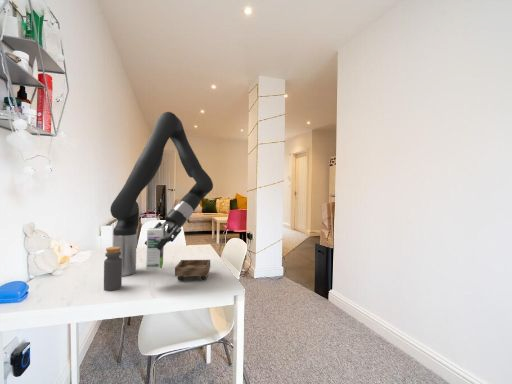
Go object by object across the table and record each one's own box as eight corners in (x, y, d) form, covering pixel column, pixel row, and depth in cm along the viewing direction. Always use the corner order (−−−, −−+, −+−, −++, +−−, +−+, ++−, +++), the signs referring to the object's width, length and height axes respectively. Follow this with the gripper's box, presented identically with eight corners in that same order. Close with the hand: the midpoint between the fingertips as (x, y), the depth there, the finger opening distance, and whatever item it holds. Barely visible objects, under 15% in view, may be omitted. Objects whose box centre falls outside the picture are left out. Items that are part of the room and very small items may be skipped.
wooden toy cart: (174, 282, 103) (174, 268, 103) (181, 272, 116) (181, 259, 116) (207, 281, 105) (207, 267, 105) (210, 272, 118) (210, 259, 118)
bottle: (117, 284, 101) (118, 245, 101) (124, 287, 97) (124, 247, 97) (101, 288, 96) (101, 248, 96) (107, 292, 92) (108, 250, 92)
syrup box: (145, 269, 94) (146, 229, 94) (147, 264, 100) (148, 227, 100) (162, 268, 96) (163, 229, 96) (163, 264, 101) (164, 227, 101)
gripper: (164, 207, 108) (136, 238, 99) (184, 209, 99) (155, 243, 90) (175, 219, 112) (148, 249, 103) (195, 222, 103) (168, 256, 94)
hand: (152, 246), depth 96 cm, fingers closed on syrup box, 8 cm apart
